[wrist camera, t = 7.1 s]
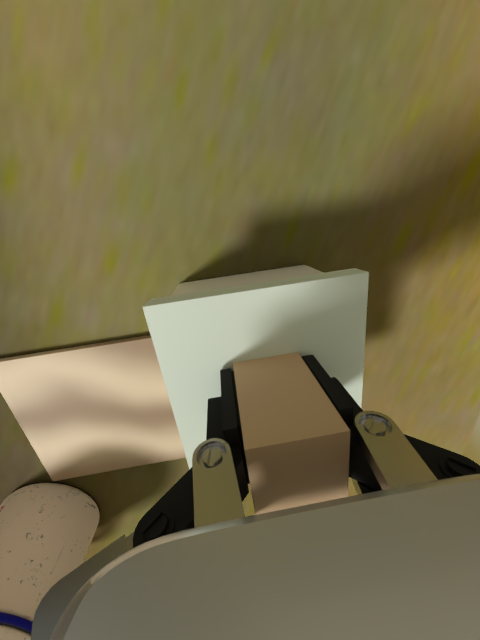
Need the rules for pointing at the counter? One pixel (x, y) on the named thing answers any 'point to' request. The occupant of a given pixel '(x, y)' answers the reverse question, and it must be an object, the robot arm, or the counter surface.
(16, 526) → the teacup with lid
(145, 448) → the mat
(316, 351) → the lid
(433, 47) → the counter surface
